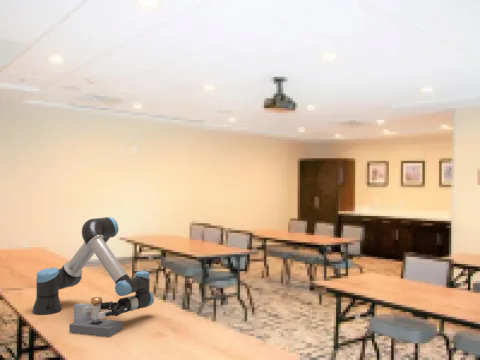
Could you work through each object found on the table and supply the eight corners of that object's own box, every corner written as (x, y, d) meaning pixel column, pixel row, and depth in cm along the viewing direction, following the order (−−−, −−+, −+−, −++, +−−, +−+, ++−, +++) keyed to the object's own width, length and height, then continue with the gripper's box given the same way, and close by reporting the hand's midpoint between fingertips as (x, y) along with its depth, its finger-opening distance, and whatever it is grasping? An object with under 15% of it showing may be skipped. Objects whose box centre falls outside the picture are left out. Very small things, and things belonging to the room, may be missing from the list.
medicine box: (91, 320, 235) (91, 304, 235) (86, 322, 230) (86, 306, 231) (78, 319, 237) (79, 302, 237) (73, 321, 233) (73, 305, 233)
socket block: (69, 332, 215) (69, 324, 215) (84, 325, 227) (84, 317, 227) (109, 337, 209) (109, 328, 209) (122, 329, 221) (122, 321, 221)
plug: (88, 332, 216) (88, 299, 216) (94, 328, 221) (94, 296, 221) (97, 333, 215) (98, 300, 215) (103, 329, 220) (104, 297, 220)
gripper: (142, 316, 224) (105, 326, 208) (113, 307, 240) (77, 315, 224) (142, 301, 224) (105, 310, 208) (113, 293, 240) (77, 300, 224)
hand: (90, 313), depth 216 cm, fingers open, 13 cm apart
